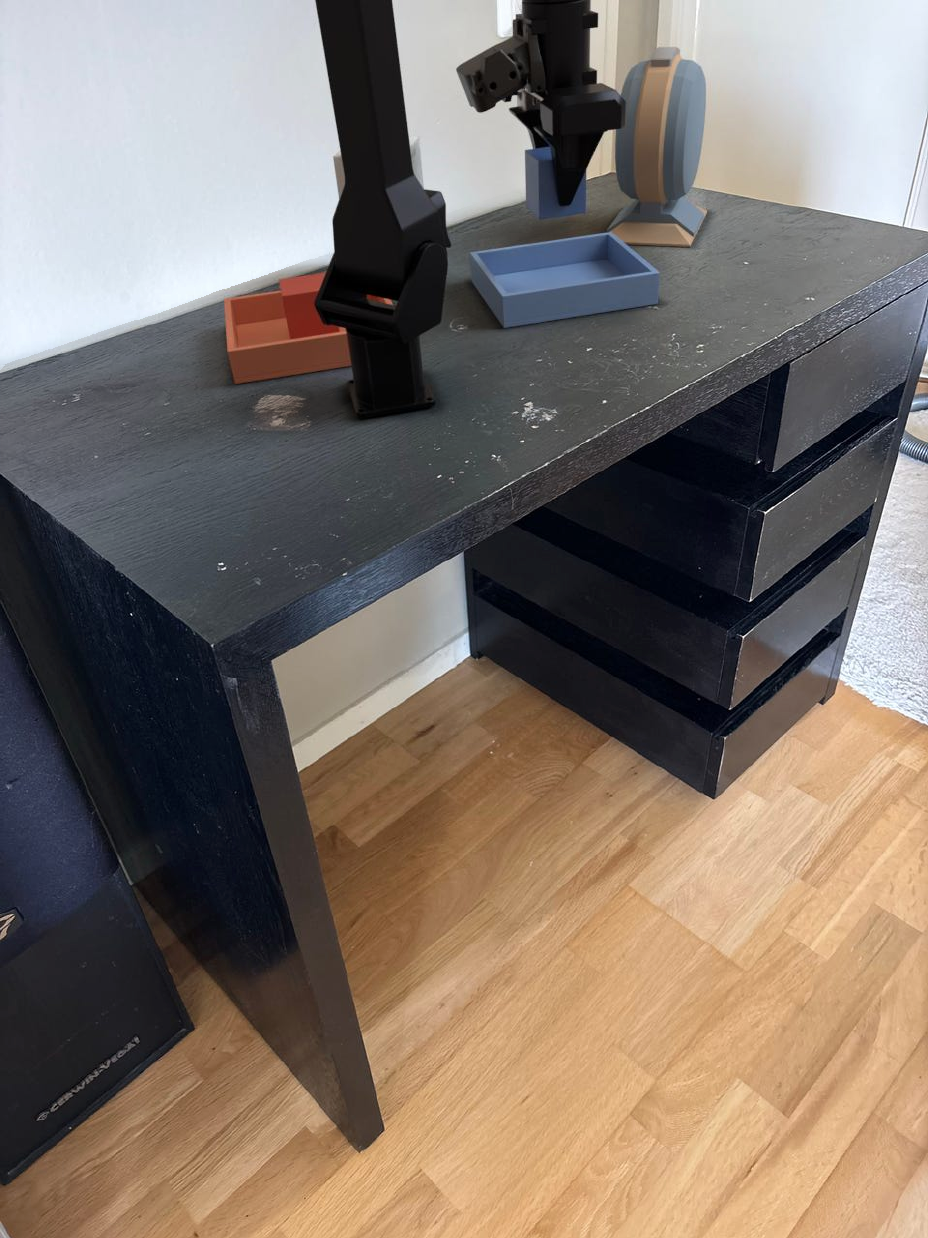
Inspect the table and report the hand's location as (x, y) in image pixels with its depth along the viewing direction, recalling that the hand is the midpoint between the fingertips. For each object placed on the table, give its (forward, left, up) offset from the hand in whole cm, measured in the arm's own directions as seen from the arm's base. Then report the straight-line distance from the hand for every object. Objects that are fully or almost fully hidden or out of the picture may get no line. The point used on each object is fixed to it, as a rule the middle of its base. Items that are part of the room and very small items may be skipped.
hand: (557, 198), depth 86 cm
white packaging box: (+13, +15, -9) cm, 22 cm away
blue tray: (0, 0, -9) cm, 9 cm away
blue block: (0, 0, -1) cm, 1 cm away
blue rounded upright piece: (+15, -16, -9) cm, 24 cm away
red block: (-3, +25, -8) cm, 26 cm away
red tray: (-3, +25, -9) cm, 26 cm away
